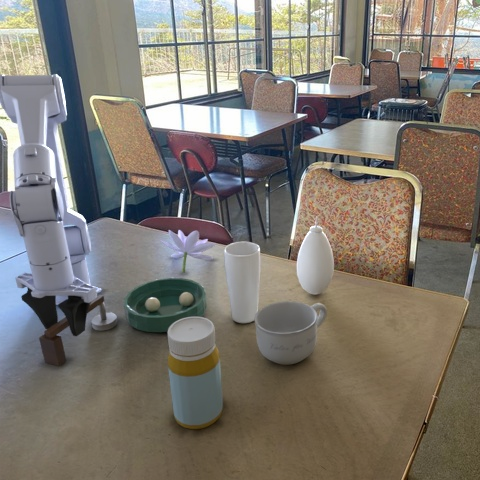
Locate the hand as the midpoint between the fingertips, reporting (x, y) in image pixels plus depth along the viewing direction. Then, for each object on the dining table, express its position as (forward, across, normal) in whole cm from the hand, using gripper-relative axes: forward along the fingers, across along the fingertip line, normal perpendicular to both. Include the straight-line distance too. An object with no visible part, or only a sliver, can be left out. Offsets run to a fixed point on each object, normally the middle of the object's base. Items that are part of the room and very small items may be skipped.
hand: (65, 329), depth 82 cm
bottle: (+5, +29, -6) cm, 30 cm away
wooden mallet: (+4, 0, +3) cm, 6 cm away
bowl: (+4, +9, +16) cm, 19 cm away
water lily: (+5, +2, +37) cm, 37 cm away
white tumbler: (+5, +24, +20) cm, 32 cm away
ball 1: (+2, +7, +15) cm, 16 cm away
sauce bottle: (+5, +34, +34) cm, 48 cm away
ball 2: (+2, +12, +19) cm, 22 cm away
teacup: (+5, +37, +13) cm, 39 cm away
